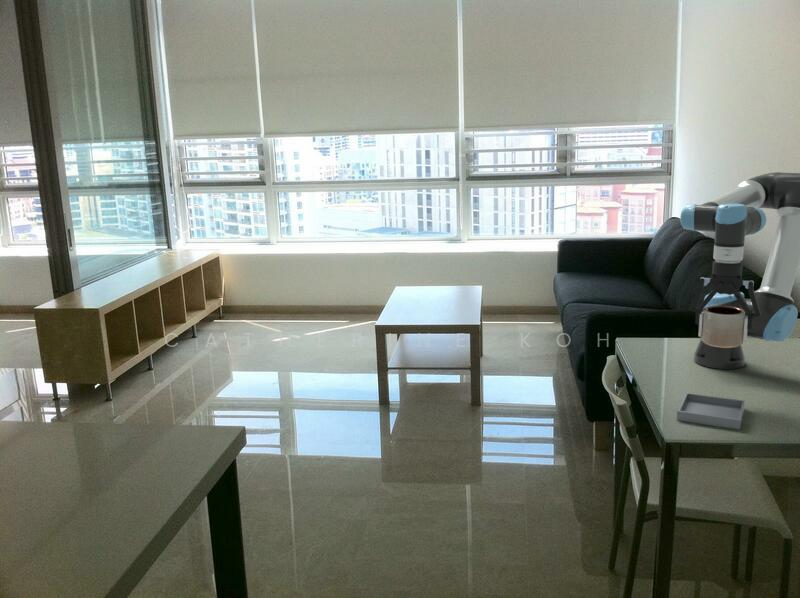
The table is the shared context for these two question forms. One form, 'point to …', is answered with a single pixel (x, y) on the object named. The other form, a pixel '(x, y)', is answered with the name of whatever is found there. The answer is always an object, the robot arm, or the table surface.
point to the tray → (711, 410)
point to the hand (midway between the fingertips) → (722, 337)
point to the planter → (723, 326)
